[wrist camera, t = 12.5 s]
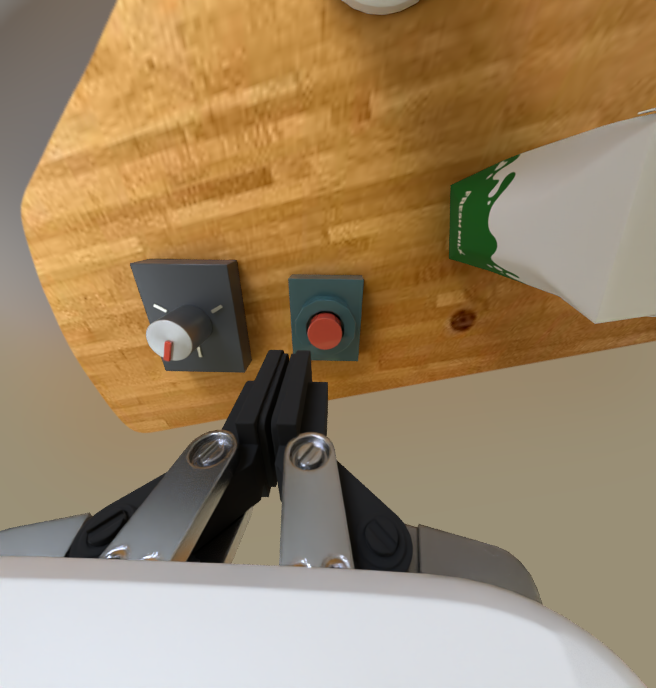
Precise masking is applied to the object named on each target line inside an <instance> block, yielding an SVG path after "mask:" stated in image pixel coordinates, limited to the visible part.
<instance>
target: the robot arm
mask: <svg viewBox="0 0 656 688" xmlns="http://www.w3.org/2000/svg"><path fill="white" fill-rule="evenodd" d="M342 1H343V2H345V3H346V4H348V5H349V6H350V7H352V8H353V9H356V10H359V11H362V12H365V13H367V14H378V15H386V14H390V13H395V12H400V11H402V10H404V9H406V8H408V7H410V6H412V5H414V4H416V3H417V2H418V1H420V0H342ZM327 415H328V382H312V370H311V351H310V350H297V351H296V354H291V357H290V360H289V355H288V354H284V351H283V350H269V351H268V353H267V355H266V358H265V360H264V362H263V364H262V366H261V368H260V370H259V372H258V374H257V377H256V379H255V381H247V382H246V384H245V385H244V387H243V389H242V391H241V393H240V395H239V397H238V399H237V401H236V403H235V405H234V407H233V409H232V411H231V413H230V414H229V416H228V418H227V420H226V422H225V424H224V426H223V428H222V430H215V431H209V432H207V433H205V434H202V435H201V436H199V437H198V438H196V439H195V440H193V441H192V442H191V444H189V446H188V447H187V448H186V449H185V450H184V452H183V453H182V454H181V455H180V457H179V458H178V459H177V460H176V462H175V463H174V464H173V466H172V467H171V468H170V469H169V471H168V472H166V473H164V474H163V475H161V476H159V477H158V478H156V479H154V480H152V481H150V482H149V483H147V484H145V485H144V486H142V487H140V488H138V489H136V490H135V491H133V492H131V493H130V494H128V495H126V496H124V497H122V498H121V499H119V500H117V501H115V502H114V503H112V504H110V505H108V506H107V507H105V508H104V509H102V510H101V511H99V512H98V513H96V514H95V515H94V516H92V515H91V514H90V513H85V514H80V515H75V516H70V517H65V518H59V519H54V520H50V521H44V522H39V523H34V524H29V525H24V526H19V527H13V528H9V529H5V530H2V531H0V688H648V687H647V686H646V685H645V684H644V683H643V682H642V680H641V679H640V678H639V677H638V676H637V675H636V674H635V673H634V672H633V671H632V670H631V669H630V668H629V667H628V666H627V665H626V664H625V663H624V661H622V659H621V658H620V657H619V656H617V655H616V654H615V653H614V652H613V651H612V650H611V649H609V648H608V647H607V646H606V645H605V644H603V643H602V642H601V641H599V640H598V639H597V638H595V637H594V636H593V635H592V634H590V633H589V632H587V631H586V630H584V629H583V628H581V627H580V626H578V625H576V624H575V623H573V622H572V621H570V620H569V619H567V618H566V617H564V616H562V615H560V614H559V613H557V612H555V611H553V610H551V609H549V608H547V607H546V606H543V604H542V602H541V598H540V595H539V592H538V589H537V587H536V585H535V583H534V581H533V579H532V577H531V575H530V573H529V572H528V571H527V569H526V568H525V567H524V566H523V564H522V563H521V562H520V561H519V560H518V559H517V558H515V557H514V556H513V555H512V554H510V553H509V552H507V551H506V550H503V549H501V548H499V547H497V546H493V545H490V544H487V543H483V542H480V541H476V540H473V539H469V538H466V537H462V536H459V535H455V534H452V533H448V532H445V531H441V530H438V529H434V528H431V527H428V526H424V525H420V524H419V525H418V527H414V526H411V525H407V524H404V523H403V522H402V520H401V519H400V518H399V517H398V516H397V515H396V514H395V513H394V512H393V511H392V510H390V509H389V508H388V507H387V506H386V505H385V504H384V503H383V502H382V501H381V500H380V499H378V498H377V497H376V496H375V495H374V494H373V493H372V492H371V491H370V490H369V489H368V488H366V487H365V486H364V485H363V484H362V483H361V482H360V481H359V480H358V479H356V478H355V477H354V476H353V475H352V474H351V473H350V472H349V471H348V470H347V469H346V468H345V467H344V466H342V465H341V464H340V463H339V462H338V461H337V460H336V454H335V449H334V446H333V443H332V442H331V441H330V439H329V438H328V437H326V436H327ZM277 481H278V488H279V493H280V500H281V502H282V515H281V538H280V560H279V566H272V565H271V566H270V565H249V564H231V563H232V561H233V559H234V556H235V554H236V551H237V549H238V547H239V544H240V542H241V539H242V537H243V535H244V532H245V530H246V527H247V525H248V523H249V520H250V518H251V515H252V511H253V506H254V505H255V504H256V503H258V502H259V501H260V500H261V497H269V493H270V489H271V487H276V485H277Z"/></svg>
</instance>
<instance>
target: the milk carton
mask: <svg viewBox="0 0 656 688" xmlns="http://www.w3.org/2000/svg"><path fill="white" fill-rule="evenodd" d="M651 111H656V108H653V109H649V110H646V111H642V112H639V113H638V114H642V113H647V112H651ZM449 259H452V260H455V261H459V262H462V263H465V264H469V265H472V266H475V267H478V268H482V269H485V270H488V271H491V272H494V273H497V274H499V275H502V276H505V277H507V278H510V279H513V280H516V281H519V282H521V283H524V284H527V285H530V286H532V287H535V288H538V289H541V290H543V291H546V292H549V293H552V294H555V295H557V296H559V297H561V298H562V299H563V300H564V301H566V302H567V303H568V304H570V305H571V306H572V307H574V308H575V309H576V310H578V311H579V312H580V313H582V314H583V315H584V316H586V317H587V318H588V319H590V320H591V321H592V322H593V323H595V324H597V323H604V322H611V321H617V320H624V319H630V318H637V317H644V316H650V317H656V113H655V114H650V115H645V116H640V117H636V118H631V119H627V120H623V121H619V122H616V123H612V124H609V125H605V126H602V127H598V128H596V129H593V130H590V131H587V132H584V133H581V134H578V135H575V136H572V137H569V138H566V139H563V140H560V141H557V142H554V143H551V144H548V145H545V146H542V147H539V148H536V149H533V150H530V151H527V152H524V153H521V154H519V155H516V156H514V157H511V158H508V159H506V160H504V161H501V162H499V163H497V164H495V165H493V166H491V167H489V168H486V169H484V170H482V171H480V172H478V173H476V174H474V175H471V176H469V177H467V178H465V179H463V180H461V181H459V182H457V183H454V184H452V185H451V191H450V237H449Z"/></svg>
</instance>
